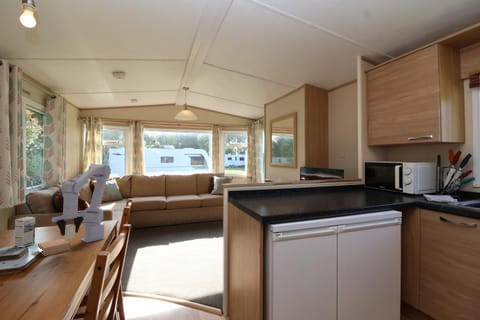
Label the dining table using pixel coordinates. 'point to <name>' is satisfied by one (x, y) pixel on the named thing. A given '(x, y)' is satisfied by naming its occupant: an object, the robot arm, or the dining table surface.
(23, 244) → the syrup box
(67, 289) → the dining table surface
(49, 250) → the base block
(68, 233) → the white upright block
